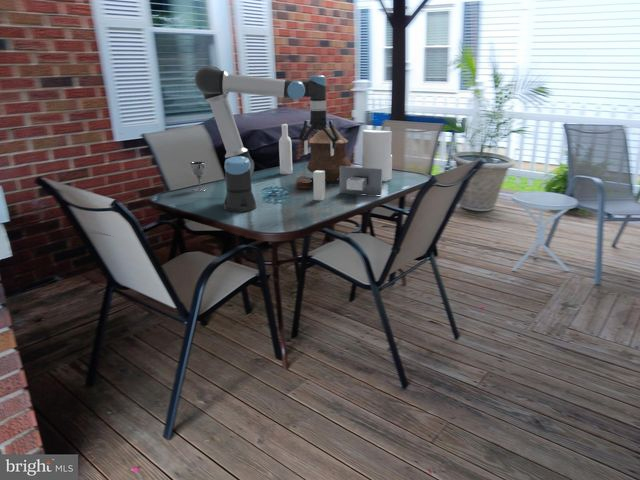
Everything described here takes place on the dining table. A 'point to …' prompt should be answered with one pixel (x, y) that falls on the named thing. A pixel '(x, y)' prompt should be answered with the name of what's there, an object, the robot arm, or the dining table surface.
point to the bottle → (285, 151)
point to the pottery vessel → (327, 155)
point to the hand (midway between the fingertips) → (319, 154)
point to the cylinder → (378, 151)
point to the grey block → (360, 180)
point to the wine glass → (198, 172)
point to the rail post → (319, 185)
